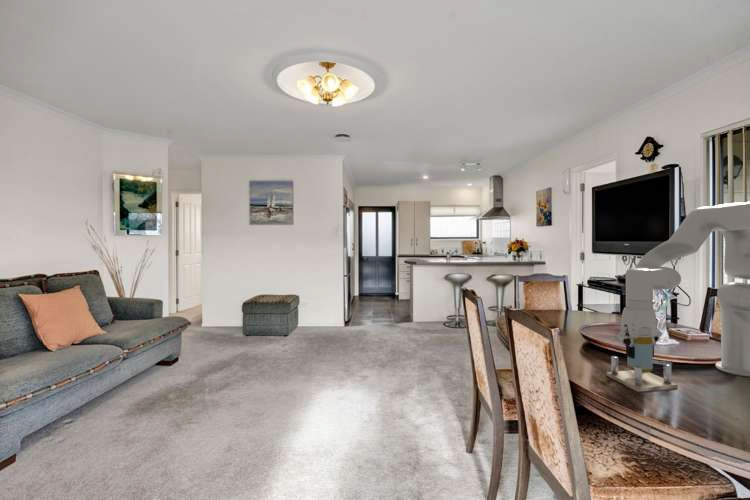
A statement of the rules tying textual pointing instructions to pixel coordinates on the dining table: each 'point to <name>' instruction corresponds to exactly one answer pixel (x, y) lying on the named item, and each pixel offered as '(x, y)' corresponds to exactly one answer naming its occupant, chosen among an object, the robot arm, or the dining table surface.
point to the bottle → (642, 351)
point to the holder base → (648, 381)
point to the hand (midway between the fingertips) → (639, 356)
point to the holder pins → (639, 372)
